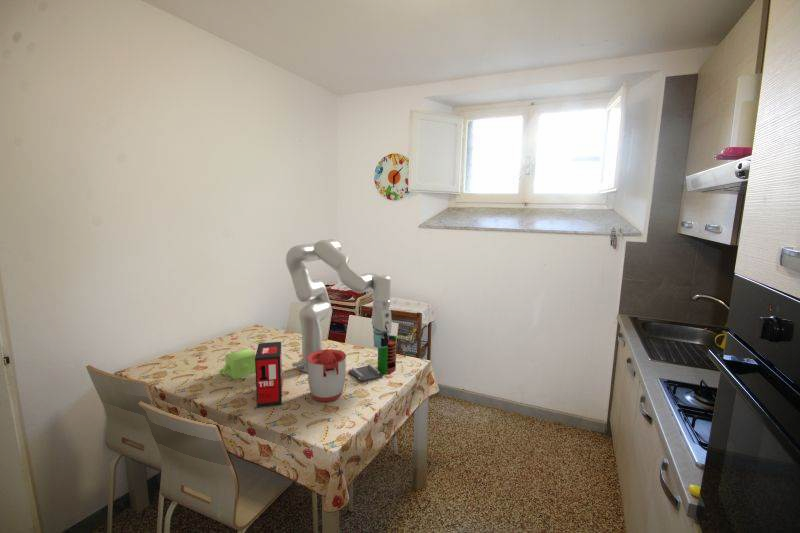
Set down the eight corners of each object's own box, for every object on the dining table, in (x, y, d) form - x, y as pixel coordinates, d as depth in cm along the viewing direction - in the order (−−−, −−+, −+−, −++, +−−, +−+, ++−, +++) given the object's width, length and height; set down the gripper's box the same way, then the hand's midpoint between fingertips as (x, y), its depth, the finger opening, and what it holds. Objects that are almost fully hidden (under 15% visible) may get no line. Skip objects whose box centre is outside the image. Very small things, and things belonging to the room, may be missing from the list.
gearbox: (224, 384, 158) (223, 364, 156) (216, 376, 164) (214, 357, 162) (264, 371, 171) (263, 352, 169) (254, 364, 177) (253, 346, 175)
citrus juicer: (312, 410, 137) (311, 360, 134) (304, 390, 153) (303, 345, 150) (352, 402, 144) (351, 354, 141) (341, 383, 159) (340, 340, 156)
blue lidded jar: (377, 349, 154) (378, 333, 153) (371, 344, 160) (371, 329, 159) (390, 346, 158) (390, 331, 157) (383, 342, 163) (383, 327, 162)
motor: (393, 374, 169) (394, 333, 166) (374, 372, 171) (375, 332, 168) (397, 366, 179) (398, 327, 176) (380, 364, 181) (380, 325, 178)
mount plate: (361, 383, 160) (361, 377, 160) (348, 372, 171) (348, 367, 171) (382, 377, 166) (382, 372, 166) (369, 367, 177) (369, 362, 177)
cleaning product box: (260, 388, 154) (258, 343, 151) (282, 385, 157) (281, 341, 154) (257, 408, 139) (254, 358, 136) (281, 404, 141) (279, 356, 138)
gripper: (399, 307, 151) (398, 348, 153) (379, 298, 165) (378, 336, 168) (383, 309, 147) (382, 352, 149) (364, 300, 161) (364, 339, 164)
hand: (380, 343), depth 158 cm, fingers closed on blue lidded jar, 6 cm apart
